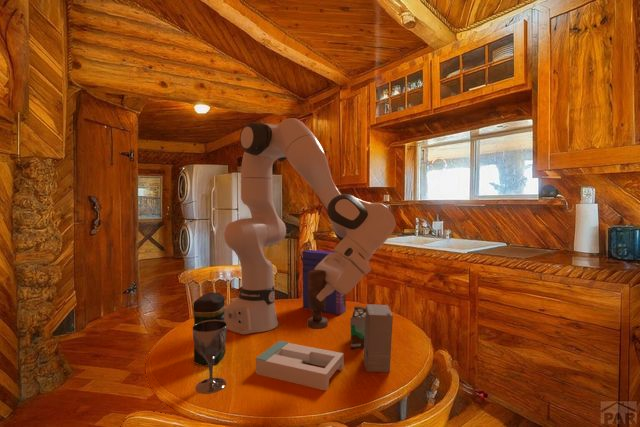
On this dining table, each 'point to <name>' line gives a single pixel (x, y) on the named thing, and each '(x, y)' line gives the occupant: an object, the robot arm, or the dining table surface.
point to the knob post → (315, 285)
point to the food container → (358, 327)
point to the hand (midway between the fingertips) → (314, 295)
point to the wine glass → (210, 350)
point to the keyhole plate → (299, 364)
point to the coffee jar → (208, 318)
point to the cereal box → (335, 299)
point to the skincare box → (377, 338)
